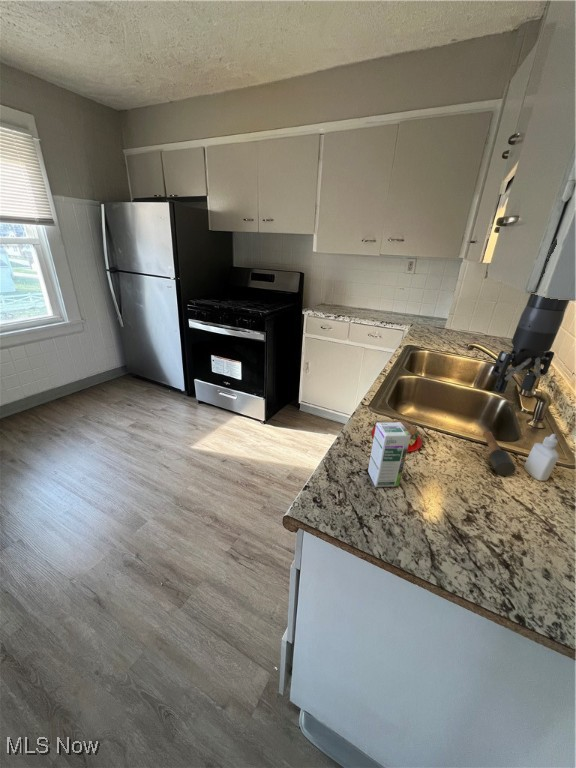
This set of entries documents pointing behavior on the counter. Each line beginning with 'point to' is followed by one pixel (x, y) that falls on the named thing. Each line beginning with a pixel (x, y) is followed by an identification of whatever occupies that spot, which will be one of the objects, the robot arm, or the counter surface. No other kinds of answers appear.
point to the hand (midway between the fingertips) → (512, 391)
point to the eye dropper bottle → (542, 458)
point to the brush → (499, 457)
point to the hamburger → (414, 437)
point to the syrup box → (388, 454)
